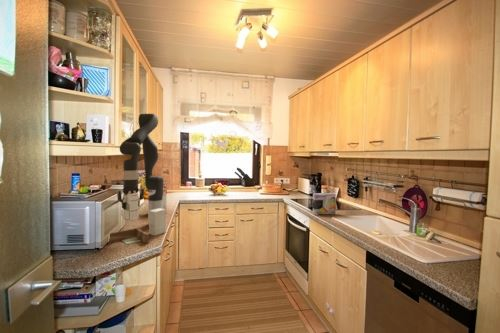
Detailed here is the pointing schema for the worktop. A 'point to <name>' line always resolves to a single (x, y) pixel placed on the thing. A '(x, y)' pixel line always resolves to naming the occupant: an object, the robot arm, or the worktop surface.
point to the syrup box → (131, 206)
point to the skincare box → (157, 221)
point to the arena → (129, 236)
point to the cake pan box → (324, 203)
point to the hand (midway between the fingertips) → (130, 208)
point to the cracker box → (151, 192)
